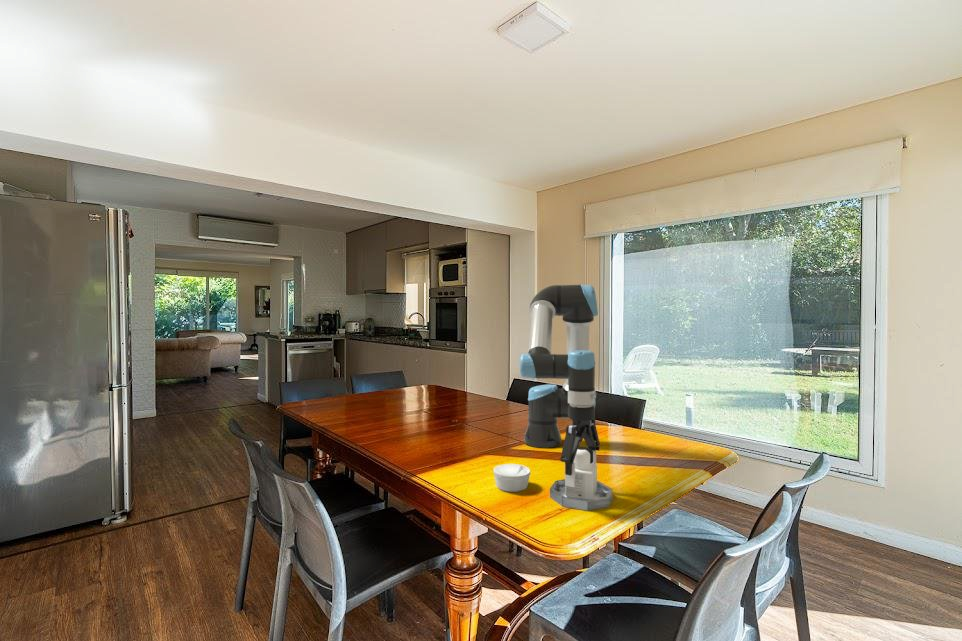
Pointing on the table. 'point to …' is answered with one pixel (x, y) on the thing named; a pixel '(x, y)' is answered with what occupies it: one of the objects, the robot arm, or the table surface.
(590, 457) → the container
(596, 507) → the grey octagonal shallow tray
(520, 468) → the ramekin
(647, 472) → the table surface
